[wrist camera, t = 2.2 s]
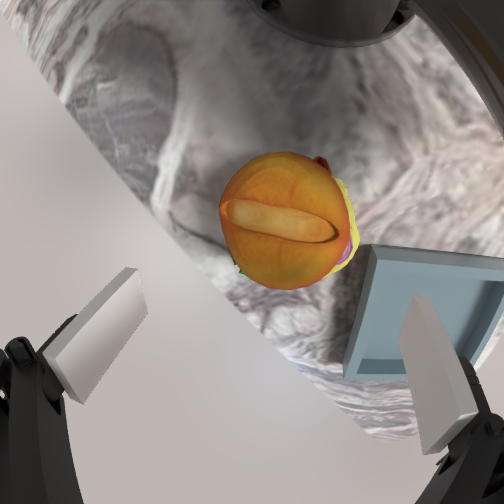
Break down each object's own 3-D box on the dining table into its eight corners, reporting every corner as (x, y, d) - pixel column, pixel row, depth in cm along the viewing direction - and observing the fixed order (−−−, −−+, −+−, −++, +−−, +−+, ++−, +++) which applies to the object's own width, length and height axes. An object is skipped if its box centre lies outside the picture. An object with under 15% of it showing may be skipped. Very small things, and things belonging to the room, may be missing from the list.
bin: (371, 243, 25) (377, 259, 22) (506, 258, 22) (519, 272, 19) (342, 361, 31) (343, 380, 29) (460, 360, 28) (466, 376, 26)
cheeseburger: (273, 288, 28) (237, 337, 19) (228, 187, 27) (170, 192, 18) (371, 252, 25) (385, 291, 15) (325, 142, 24) (313, 117, 14)
